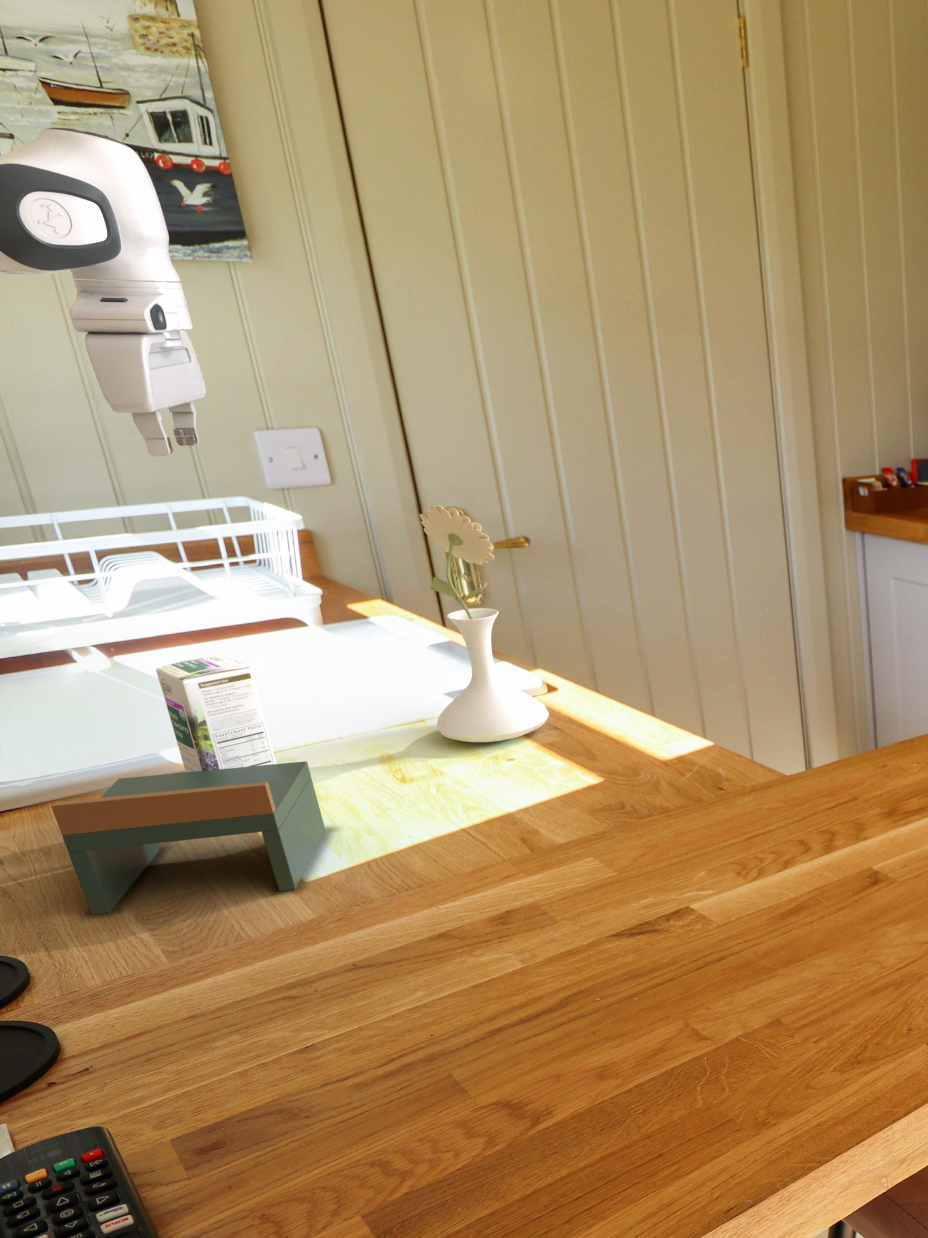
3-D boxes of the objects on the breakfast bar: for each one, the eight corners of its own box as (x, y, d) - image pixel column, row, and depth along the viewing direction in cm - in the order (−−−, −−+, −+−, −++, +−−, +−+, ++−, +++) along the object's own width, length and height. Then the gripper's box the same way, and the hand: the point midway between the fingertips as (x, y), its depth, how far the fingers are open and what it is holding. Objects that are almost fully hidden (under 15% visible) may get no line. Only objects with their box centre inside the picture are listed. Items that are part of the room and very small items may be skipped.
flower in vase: (570, 732, 131) (532, 508, 121) (468, 759, 123) (419, 522, 113) (513, 706, 138) (474, 493, 128) (414, 730, 130) (363, 505, 120)
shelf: (91, 915, 92) (50, 805, 88) (143, 851, 102) (109, 751, 98) (295, 890, 96) (265, 785, 92) (326, 831, 106) (300, 734, 102)
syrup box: (196, 814, 109) (149, 667, 103) (264, 795, 113) (223, 652, 107) (224, 830, 106) (177, 679, 100) (293, 809, 111) (252, 663, 105)
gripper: (134, 309, 128) (171, 440, 133) (61, 312, 110) (107, 462, 116) (202, 311, 130) (235, 439, 135) (141, 313, 112) (182, 461, 118)
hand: (176, 450), depth 125 cm, fingers open, 8 cm apart
